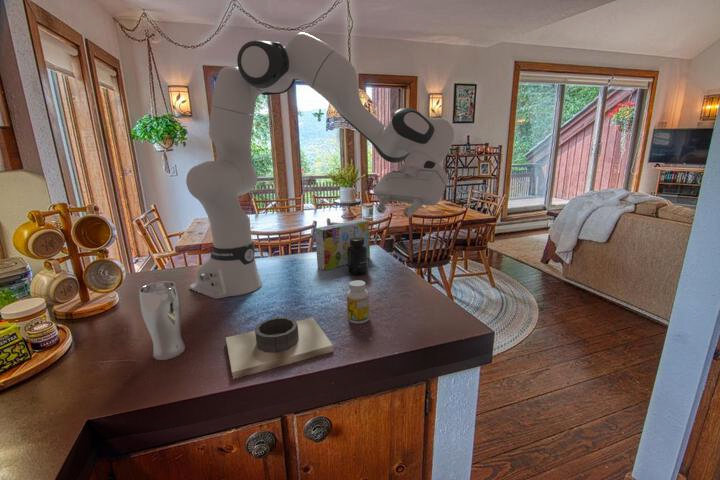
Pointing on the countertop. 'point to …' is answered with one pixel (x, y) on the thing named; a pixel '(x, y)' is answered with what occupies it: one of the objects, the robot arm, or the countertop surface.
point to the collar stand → (276, 345)
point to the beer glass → (162, 318)
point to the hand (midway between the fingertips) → (392, 213)
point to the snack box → (339, 242)
